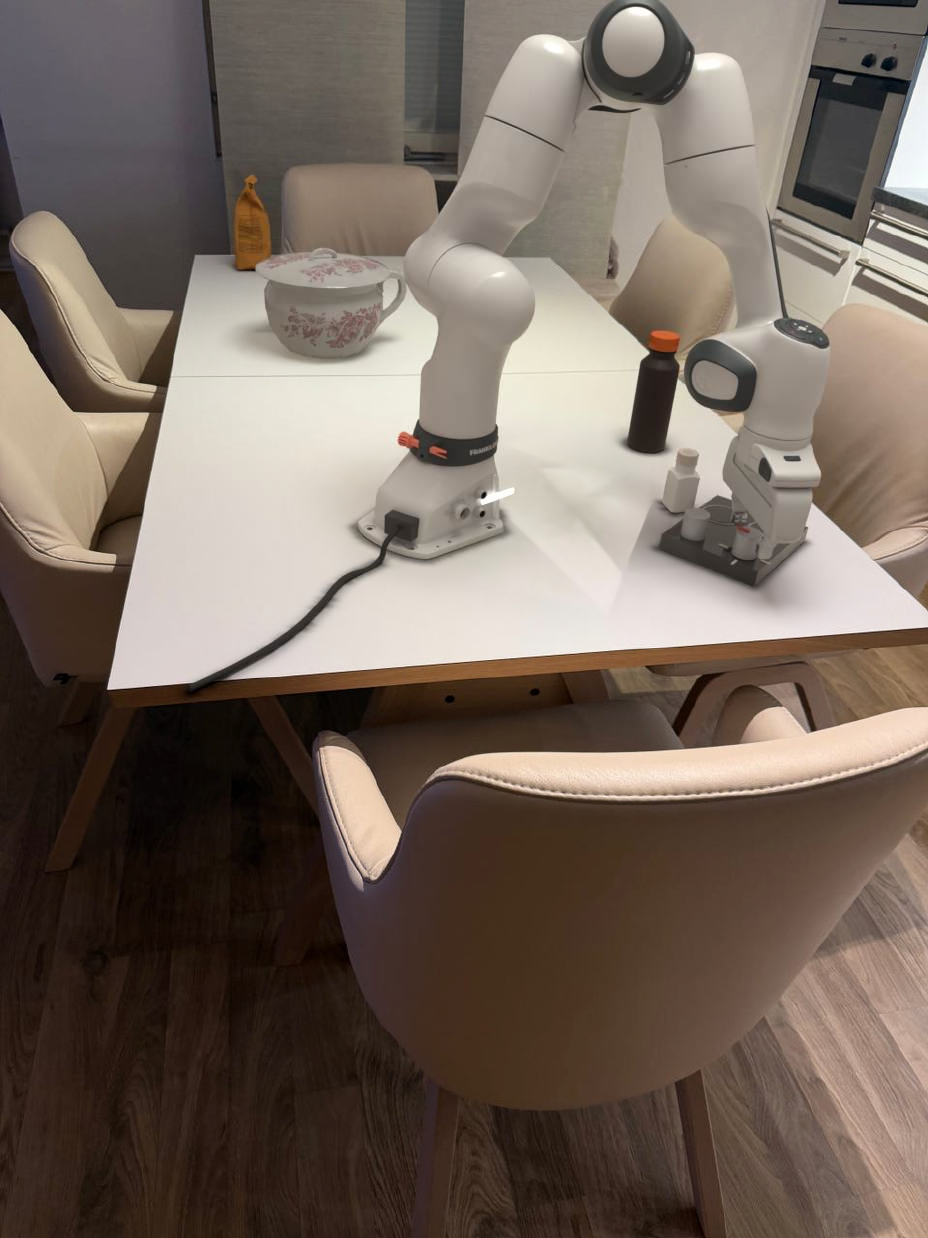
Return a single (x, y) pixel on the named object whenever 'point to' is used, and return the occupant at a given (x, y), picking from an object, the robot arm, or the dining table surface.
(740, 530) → the hob knob
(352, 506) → the dining table surface
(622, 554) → the dining table surface
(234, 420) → the dining table surface
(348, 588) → the dining table surface
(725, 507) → the hob zones
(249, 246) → the coffee package
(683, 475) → the pepper shaker
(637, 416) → the bottle
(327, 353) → the chamber pot
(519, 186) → the robot arm
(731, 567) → the hob
